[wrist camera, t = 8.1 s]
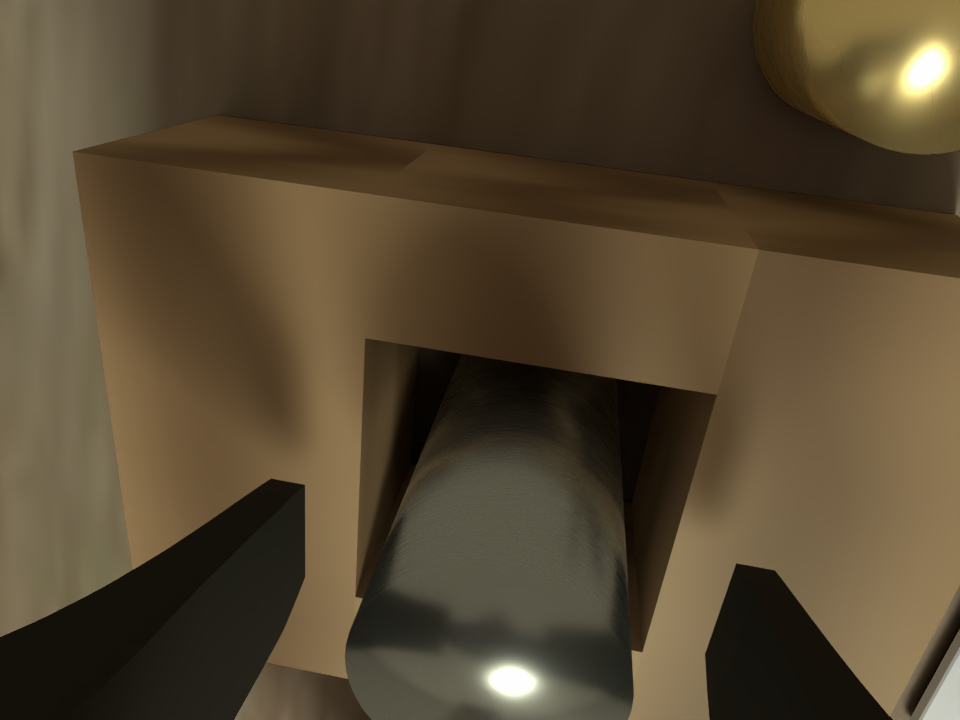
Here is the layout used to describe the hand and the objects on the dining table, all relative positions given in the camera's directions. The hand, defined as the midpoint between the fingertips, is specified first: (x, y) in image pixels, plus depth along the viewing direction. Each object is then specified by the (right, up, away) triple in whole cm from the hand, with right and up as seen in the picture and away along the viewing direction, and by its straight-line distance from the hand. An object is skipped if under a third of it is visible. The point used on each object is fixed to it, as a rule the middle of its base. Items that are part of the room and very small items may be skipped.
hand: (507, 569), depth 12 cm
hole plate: (+1, +3, +6) cm, 7 cm away
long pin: (+1, +3, +6) cm, 7 cm away
